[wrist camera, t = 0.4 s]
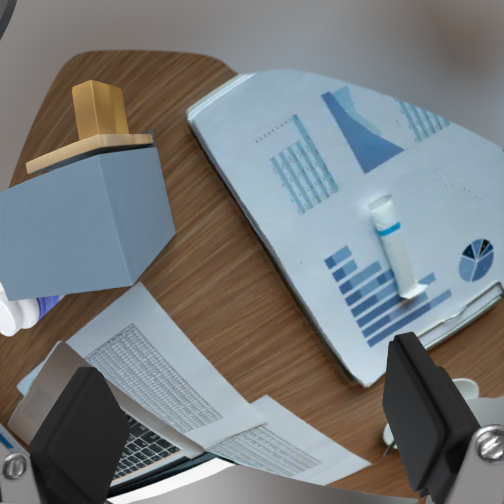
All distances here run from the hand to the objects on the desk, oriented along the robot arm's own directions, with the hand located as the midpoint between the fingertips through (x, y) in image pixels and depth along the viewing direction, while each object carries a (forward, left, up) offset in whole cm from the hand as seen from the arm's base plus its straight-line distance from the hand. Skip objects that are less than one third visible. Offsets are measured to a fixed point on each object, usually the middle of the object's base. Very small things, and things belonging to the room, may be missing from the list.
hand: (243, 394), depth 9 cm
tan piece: (-11, -10, -20) cm, 25 cm away
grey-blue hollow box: (-4, -13, -20) cm, 25 cm away
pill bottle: (+2, -23, -21) cm, 31 cm away
